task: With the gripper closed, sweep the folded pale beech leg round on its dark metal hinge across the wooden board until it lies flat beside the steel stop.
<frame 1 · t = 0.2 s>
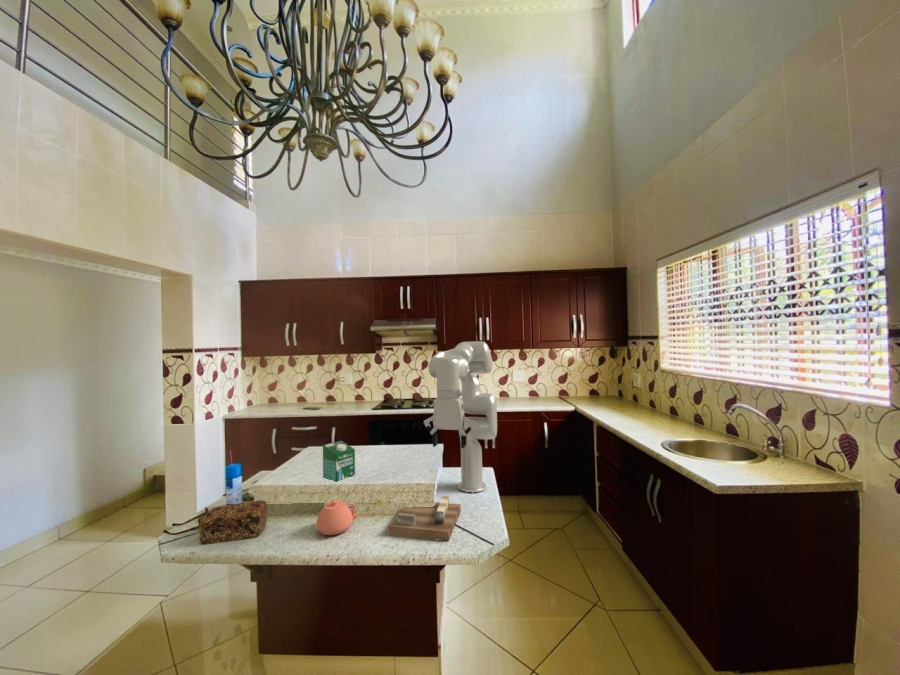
hand: (449, 446, 118), 30 cm above the counter, tool pointing down, fingers open, 9 cm apart
folding leg: (442, 508, 129), point 5 cm above the counter, hinge at -85.0°
milk carton: (339, 506, 144), on the counter
wooden board: (426, 522, 128), on the counter
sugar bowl: (337, 529, 125), on the counter
bread: (234, 535, 123), on the counter
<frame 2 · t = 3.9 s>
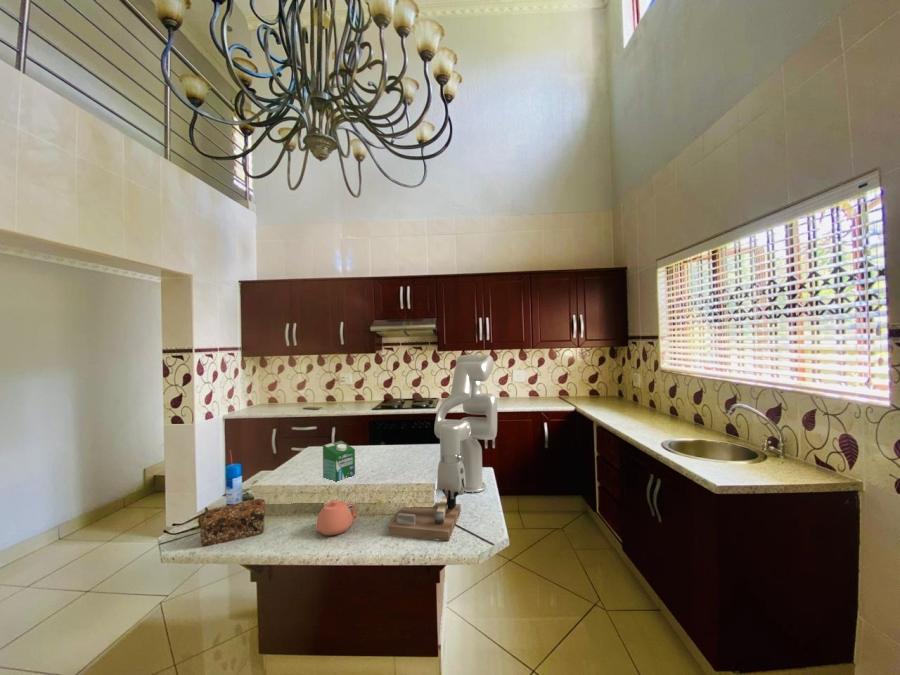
hand: (451, 508, 131), 4 cm above the counter, tool pointing down, fingers closed
folding leg: (442, 508, 129), point 5 cm above the counter, hinge at -85.0°, touching gripper
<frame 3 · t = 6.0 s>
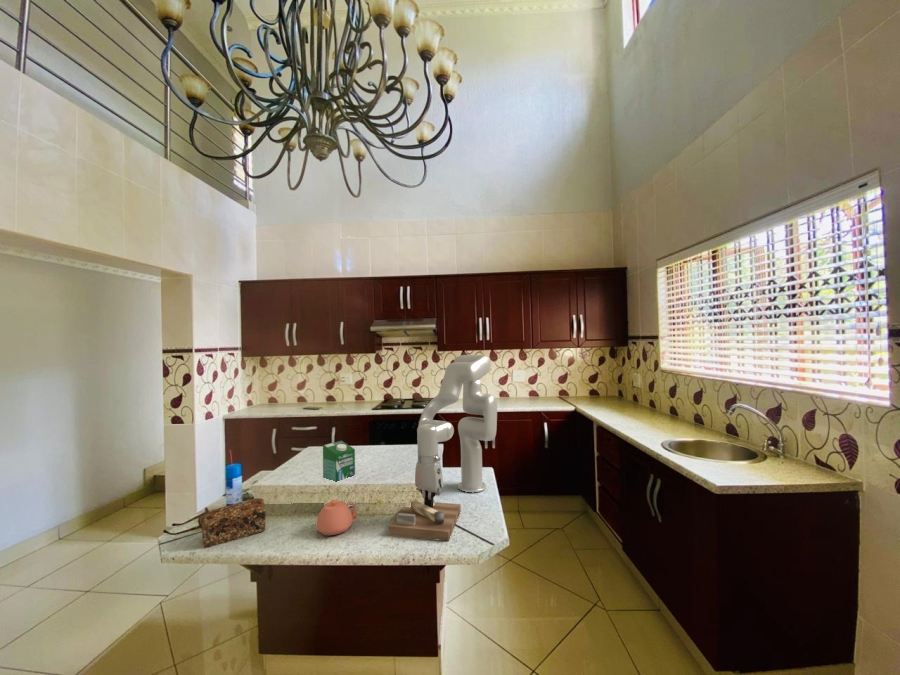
hand: (429, 508, 131), 4 cm above the counter, tool pointing down, fingers closed
folding leg: (427, 511, 127), point 5 cm above the counter, hinge at -34.8°, touching gripper
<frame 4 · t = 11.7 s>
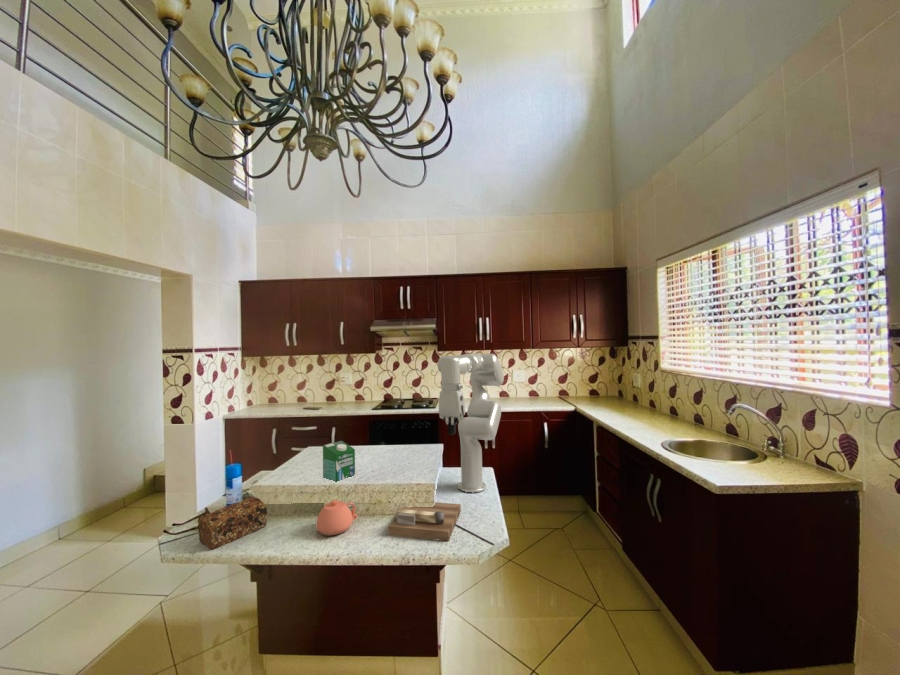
hand: (451, 434, 140), 29 cm above the counter, tool pointing down, fingers closed
folding leg: (420, 515, 124), point 5 cm above the counter, hinge at -0.7°
at the end: folding leg at -1° (first picture: -85°) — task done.
